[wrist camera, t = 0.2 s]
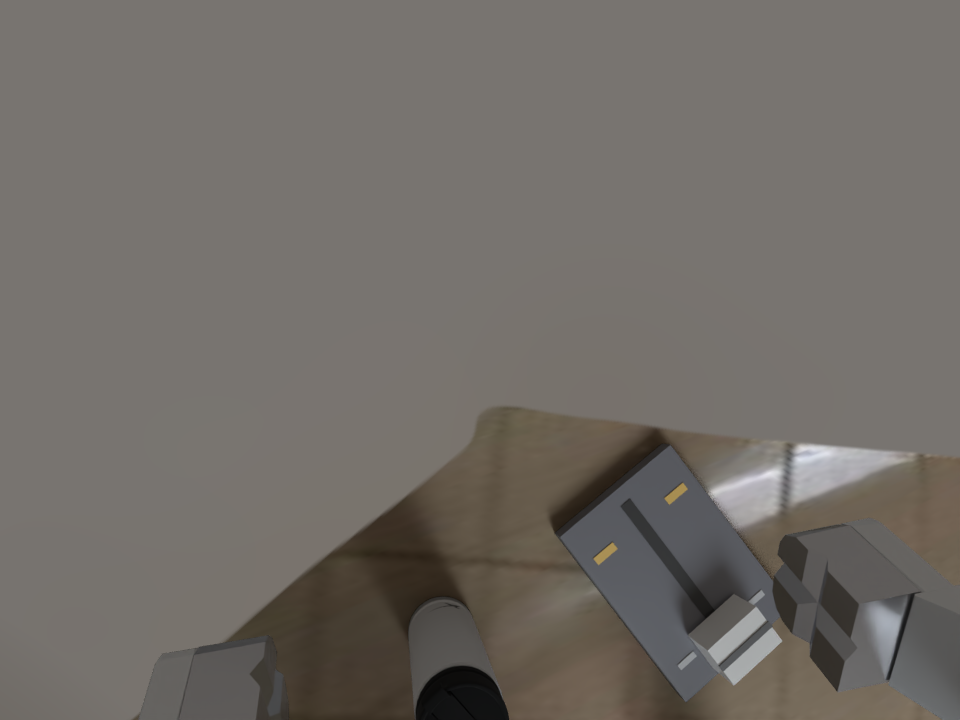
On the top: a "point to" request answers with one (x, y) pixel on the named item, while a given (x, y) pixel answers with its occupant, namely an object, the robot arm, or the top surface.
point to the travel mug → (451, 665)
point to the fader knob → (735, 638)
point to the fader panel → (665, 562)
